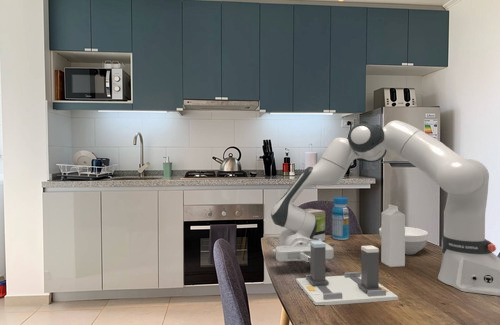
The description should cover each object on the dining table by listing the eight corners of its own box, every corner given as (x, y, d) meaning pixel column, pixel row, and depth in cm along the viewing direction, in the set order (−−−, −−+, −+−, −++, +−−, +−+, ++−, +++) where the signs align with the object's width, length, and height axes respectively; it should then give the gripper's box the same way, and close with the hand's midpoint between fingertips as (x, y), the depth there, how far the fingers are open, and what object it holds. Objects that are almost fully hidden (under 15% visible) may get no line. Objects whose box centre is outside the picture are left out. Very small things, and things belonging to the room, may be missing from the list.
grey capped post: (322, 278, 106) (322, 240, 106) (328, 284, 101) (328, 244, 101) (307, 279, 105) (307, 241, 105) (312, 285, 100) (312, 245, 100)
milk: (395, 261, 128) (395, 203, 128) (405, 266, 122) (405, 206, 122) (380, 262, 127) (381, 204, 127) (389, 267, 121) (390, 206, 121)
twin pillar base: (365, 277, 111) (365, 270, 111) (398, 299, 93) (398, 291, 93) (296, 281, 107) (296, 274, 107) (315, 306, 89) (315, 297, 89)
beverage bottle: (331, 239, 162) (331, 198, 161) (331, 235, 170) (331, 196, 169) (350, 240, 160) (350, 199, 159) (348, 236, 168) (348, 196, 168)
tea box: (304, 246, 150) (304, 213, 150) (288, 241, 158) (288, 210, 158) (325, 240, 160) (325, 210, 160) (309, 237, 168) (309, 207, 167)
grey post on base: (373, 285, 100) (373, 244, 100) (382, 291, 95) (382, 249, 95) (357, 286, 100) (357, 245, 99) (366, 292, 95) (366, 250, 94)
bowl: (421, 246, 149) (421, 227, 149) (433, 259, 131) (433, 236, 130) (376, 244, 154) (376, 225, 153) (382, 255, 135) (382, 234, 135)
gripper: (271, 240, 121) (280, 251, 108) (324, 238, 125) (340, 248, 111) (271, 258, 121) (280, 270, 108) (324, 255, 125) (340, 267, 111)
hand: (311, 259), depth 109 cm, fingers closed
